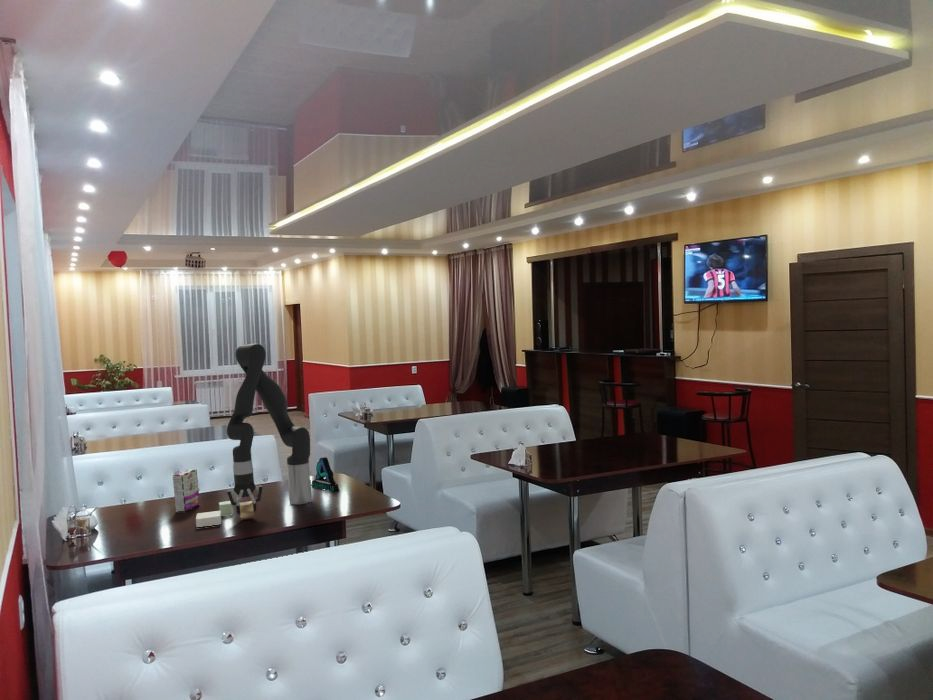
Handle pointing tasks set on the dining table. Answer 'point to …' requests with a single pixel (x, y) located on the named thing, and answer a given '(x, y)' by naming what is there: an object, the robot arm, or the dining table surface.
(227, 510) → the sage cube
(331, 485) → the decorative sign
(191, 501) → the candy bar box
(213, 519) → the cream block
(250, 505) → the oak cube
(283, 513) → the dining table surface
